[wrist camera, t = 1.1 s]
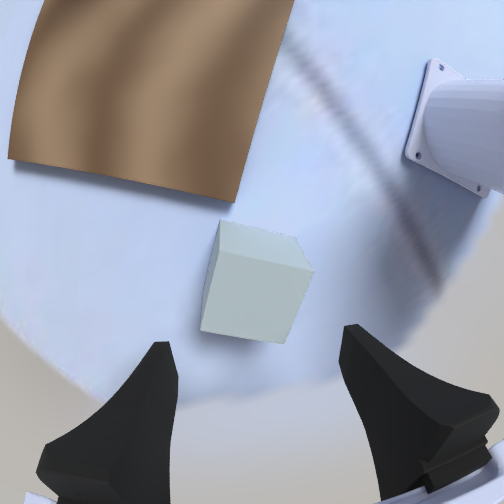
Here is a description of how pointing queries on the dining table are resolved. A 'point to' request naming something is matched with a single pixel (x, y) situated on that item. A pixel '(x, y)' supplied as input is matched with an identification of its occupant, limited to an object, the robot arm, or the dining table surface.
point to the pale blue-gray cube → (254, 283)
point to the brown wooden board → (148, 89)
